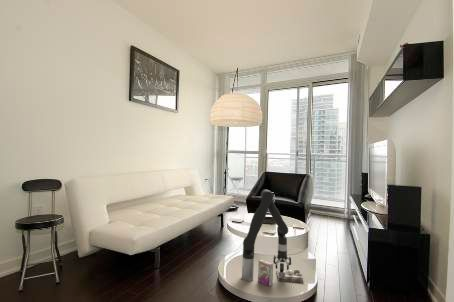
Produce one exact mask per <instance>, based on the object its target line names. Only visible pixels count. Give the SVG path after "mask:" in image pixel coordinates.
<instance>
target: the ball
mask: <svg viewBox="0 0 454 302" xmlns="http://www.w3.org/2000/svg"><path fill="white" fill-rule="evenodd" d="M287 272H288V274H289V275H292V274H293V272H294V270H292V269H289V270H287Z"/></svg>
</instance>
